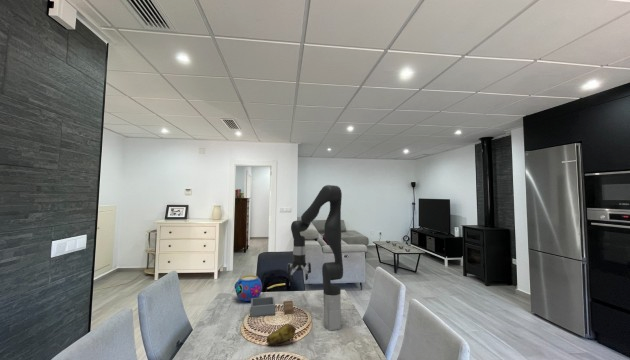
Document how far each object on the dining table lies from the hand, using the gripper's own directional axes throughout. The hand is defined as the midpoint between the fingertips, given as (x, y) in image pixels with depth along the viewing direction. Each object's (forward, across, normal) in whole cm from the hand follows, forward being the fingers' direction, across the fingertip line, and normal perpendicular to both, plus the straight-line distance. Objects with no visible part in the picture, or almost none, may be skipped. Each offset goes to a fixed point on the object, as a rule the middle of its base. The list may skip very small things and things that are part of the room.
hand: (299, 280), depth 160 cm
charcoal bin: (+19, -21, +6) cm, 29 cm away
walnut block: (+19, -6, +1) cm, 20 cm away
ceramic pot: (+20, -31, +28) cm, 46 cm away
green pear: (+18, -12, -32) cm, 39 cm away
